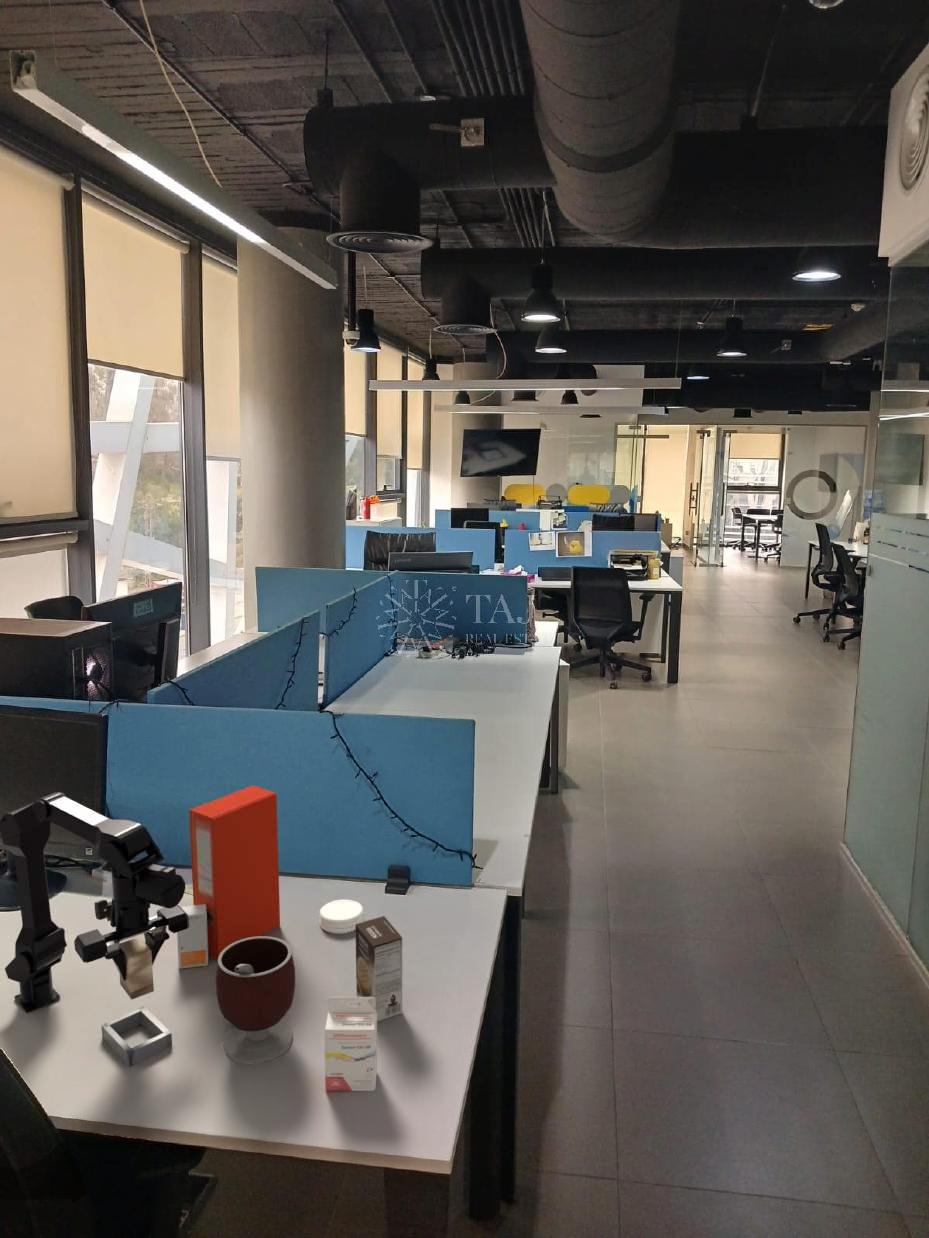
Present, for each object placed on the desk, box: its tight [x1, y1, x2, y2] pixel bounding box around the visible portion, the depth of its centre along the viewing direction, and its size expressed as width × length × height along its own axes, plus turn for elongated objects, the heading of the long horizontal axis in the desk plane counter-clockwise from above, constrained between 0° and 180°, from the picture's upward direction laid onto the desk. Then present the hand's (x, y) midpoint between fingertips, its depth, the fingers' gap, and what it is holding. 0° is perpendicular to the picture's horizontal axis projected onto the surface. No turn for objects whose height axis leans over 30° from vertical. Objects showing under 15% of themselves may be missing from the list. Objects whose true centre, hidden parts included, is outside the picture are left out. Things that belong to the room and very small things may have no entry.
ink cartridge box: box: [324, 996, 378, 1092], centre depth 148 cm, size 9×5×15 cm, turn 92°
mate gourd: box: [215, 935, 296, 1065], centre depth 157 cm, size 16×14×20 cm
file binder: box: [188, 785, 281, 961], centre depth 191 cm, size 8×17×32 cm, turn 145°
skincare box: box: [176, 904, 209, 970], centre depth 183 cm, size 6×4×12 cm
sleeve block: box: [119, 936, 155, 1000], centre depth 158 cm, size 4×6×8 cm, turn 39°
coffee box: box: [355, 915, 403, 1022], centre depth 168 cm, size 9×6×16 cm
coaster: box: [319, 899, 365, 935], centre depth 200 cm, size 10×10×4 cm
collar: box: [101, 1005, 173, 1067], centre depth 159 cm, size 11×8×2 cm
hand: (136, 974), depth 158 cm, fingers closed on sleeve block, 4 cm apart
